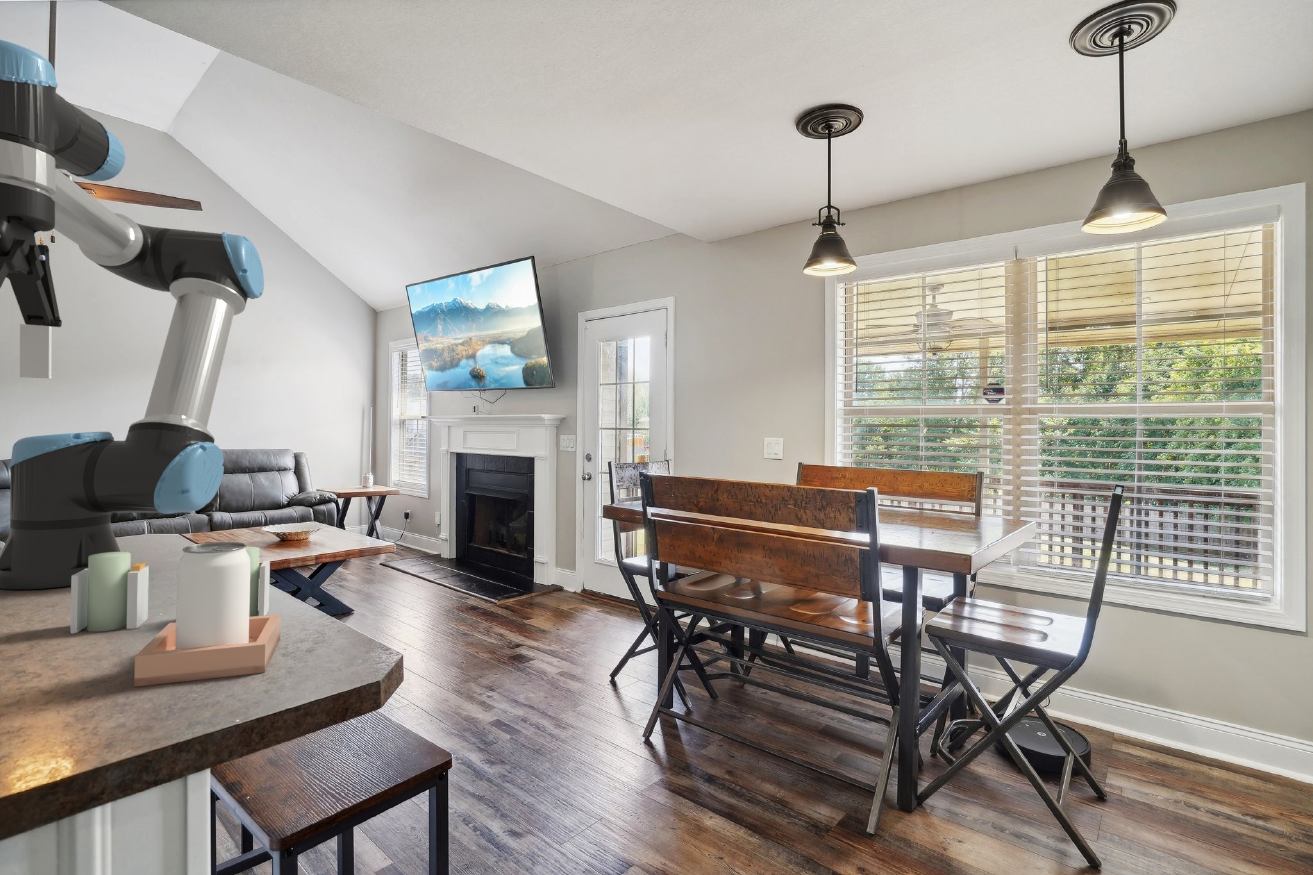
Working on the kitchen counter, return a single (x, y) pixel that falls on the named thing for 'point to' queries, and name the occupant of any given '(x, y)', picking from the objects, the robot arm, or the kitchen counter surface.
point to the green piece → (254, 579)
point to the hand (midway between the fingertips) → (8, 376)
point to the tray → (207, 655)
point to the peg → (107, 590)
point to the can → (213, 595)
